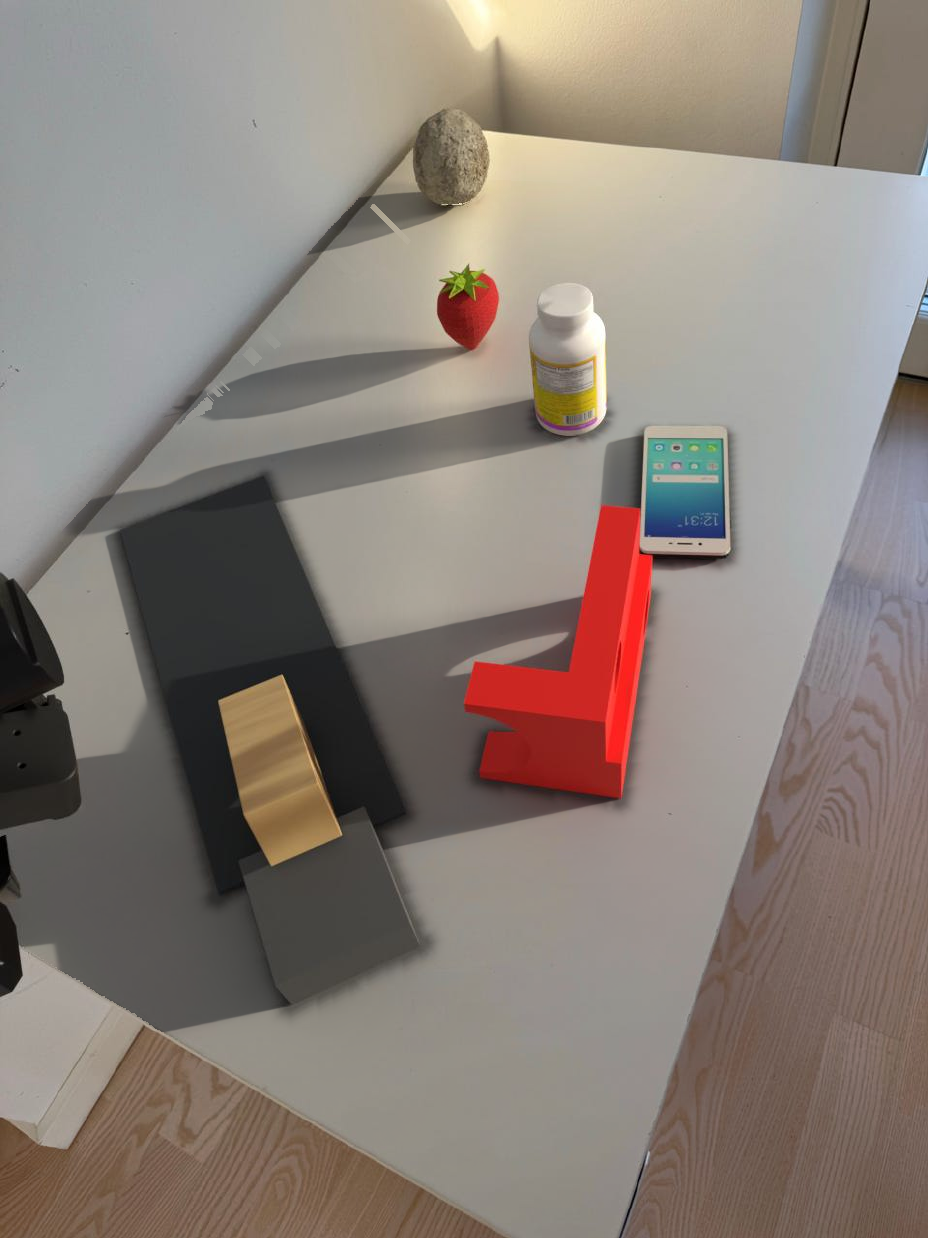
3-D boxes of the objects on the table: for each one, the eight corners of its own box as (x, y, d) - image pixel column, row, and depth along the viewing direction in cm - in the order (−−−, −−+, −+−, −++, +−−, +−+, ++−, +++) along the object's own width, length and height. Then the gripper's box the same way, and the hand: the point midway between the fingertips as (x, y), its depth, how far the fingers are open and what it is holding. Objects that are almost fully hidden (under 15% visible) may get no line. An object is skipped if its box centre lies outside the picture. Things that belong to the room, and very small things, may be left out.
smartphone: (728, 425, 89) (732, 553, 80) (727, 432, 89) (731, 560, 81) (643, 424, 90) (638, 551, 81) (643, 431, 91) (637, 558, 82)
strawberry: (512, 327, 102) (504, 240, 94) (489, 375, 98) (478, 288, 90) (459, 321, 104) (446, 235, 96) (434, 368, 100) (418, 282, 92)
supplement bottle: (559, 382, 96) (553, 266, 86) (619, 404, 93) (620, 286, 83) (521, 425, 93) (510, 310, 83) (582, 448, 91) (578, 332, 80)
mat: (406, 813, 71) (405, 811, 71) (219, 895, 69) (218, 893, 69) (265, 478, 93) (263, 475, 93) (121, 532, 91) (119, 529, 91)
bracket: (622, 724, 61) (463, 703, 64) (621, 798, 70) (480, 778, 72) (654, 509, 72) (516, 498, 74) (650, 596, 80) (526, 583, 82)
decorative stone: (479, 225, 114) (469, 140, 106) (410, 221, 116) (395, 137, 108) (503, 176, 119) (495, 92, 111) (436, 173, 122) (424, 90, 114)
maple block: (318, 783, 63) (282, 674, 73) (243, 815, 62) (217, 700, 73) (342, 835, 66) (304, 723, 76) (270, 867, 65) (242, 749, 75)
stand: (420, 946, 65) (410, 925, 62) (291, 1005, 64) (274, 986, 61) (375, 831, 70) (364, 806, 67) (255, 883, 69) (238, 860, 66)
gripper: (48, 872, 40) (183, 987, 52) (-3, 556, 51) (119, 714, 63) (-234, 991, 38) (-26, 1081, 51) (-224, 639, 49) (-54, 784, 62)
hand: (12, 895), depth 57 cm, fingers closed
